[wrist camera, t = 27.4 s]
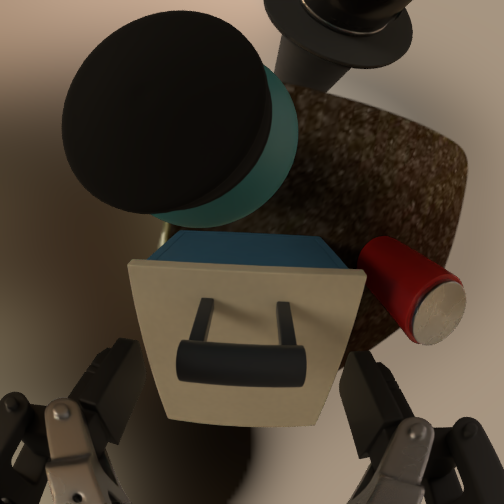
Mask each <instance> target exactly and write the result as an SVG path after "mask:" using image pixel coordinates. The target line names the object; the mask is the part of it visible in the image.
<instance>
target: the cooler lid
mask: <svg viewBox="0 0 504 504" xmlns="http://www.w3.org/2000/svg"><path fill="white" fill-rule="evenodd" d="M128 271H129V277H130V283H131V288H132V293H133V298H134V303H135V308H136V312H137V317H138V321H139V325H140V329H141V334H142V337H143V341H144V345H145V349H146V352H147V356H148V359H149V363H150V366H151V370H152V373H153V376H154V379H155V382H156V386H157V389H158V392H159V395H160V397H161V400H162V403H163V406H164V408H165V411H166V414H167V417H168V418H169V419H175V420H182V421H188V422H196V423H205V424H216V425H228V426H245V427H296V426H312V425H315V424H316V422H317V420H318V417H319V415H320V413H321V411H322V408H323V406H324V404H325V401H326V399H327V396H328V394H329V392H330V389H331V387H332V384H333V382H334V379H335V376H336V374H337V371H338V369H339V366H340V363H341V360H342V358H343V355H344V352H345V349H346V346H347V343H348V340H349V337H350V334H351V331H352V328H353V324H354V321H355V318H356V315H357V311H358V308H359V304H360V301H361V297H362V293H363V290H364V286H365V282H366V278H367V275H366V274H365V272H364V271H363V270H362V269H333V268H305V267H280V266H256V265H234V264H213V263H194V262H175V261H157V260H140V259H132V260H131V261H130V263H129V264H128Z"/></svg>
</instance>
